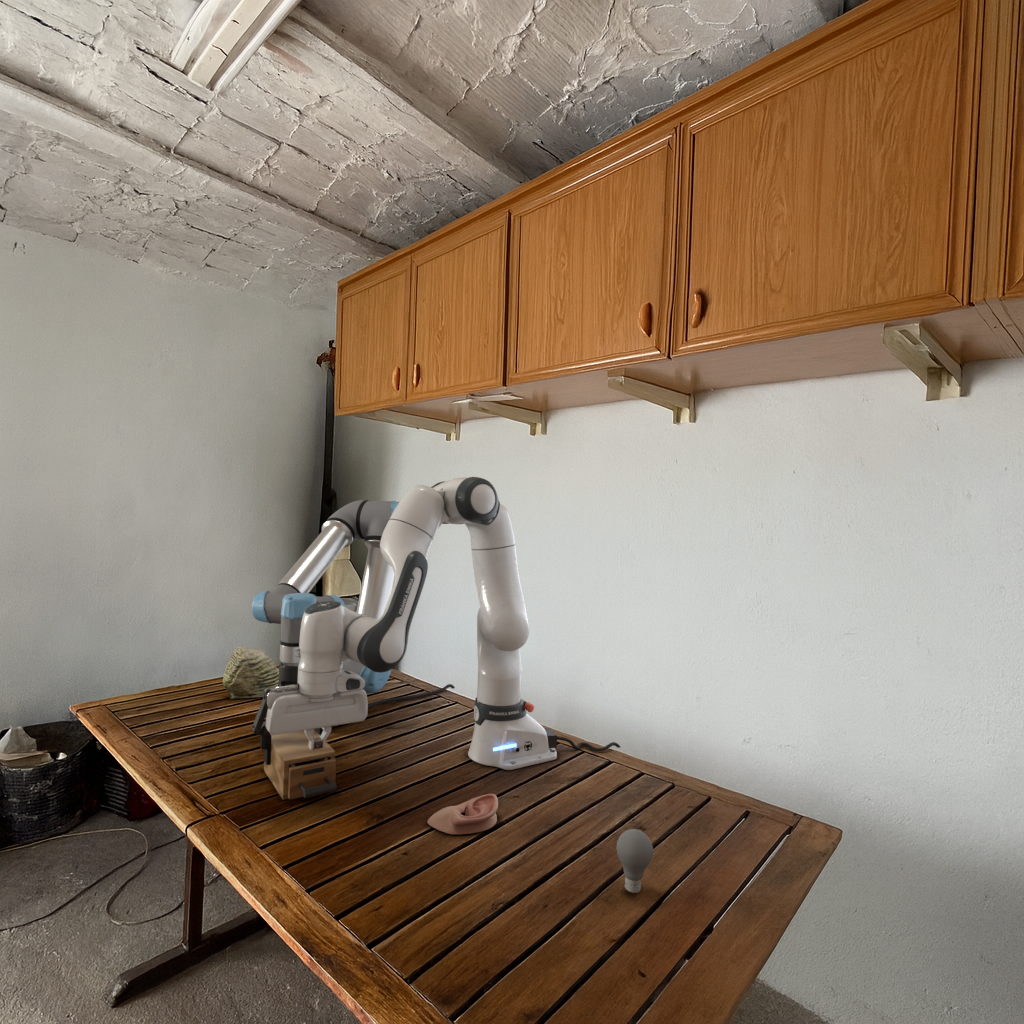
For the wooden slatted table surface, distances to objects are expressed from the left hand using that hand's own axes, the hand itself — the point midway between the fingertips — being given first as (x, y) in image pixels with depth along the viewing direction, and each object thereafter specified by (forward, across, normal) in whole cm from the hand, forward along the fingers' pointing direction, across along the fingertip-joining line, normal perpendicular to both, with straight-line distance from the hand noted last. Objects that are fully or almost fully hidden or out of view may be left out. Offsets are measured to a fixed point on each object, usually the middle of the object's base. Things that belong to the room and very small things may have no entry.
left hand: (293, 757), depth 145 cm
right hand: (-8, 0, -17) cm, 19 cm away
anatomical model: (+3, +23, -38) cm, 45 cm away
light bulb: (+3, +36, -72) cm, 81 cm away
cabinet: (+3, 0, -4) cm, 5 cm away
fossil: (+3, +5, +61) cm, 61 cm away
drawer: (+2, 0, -10) cm, 10 cm away
